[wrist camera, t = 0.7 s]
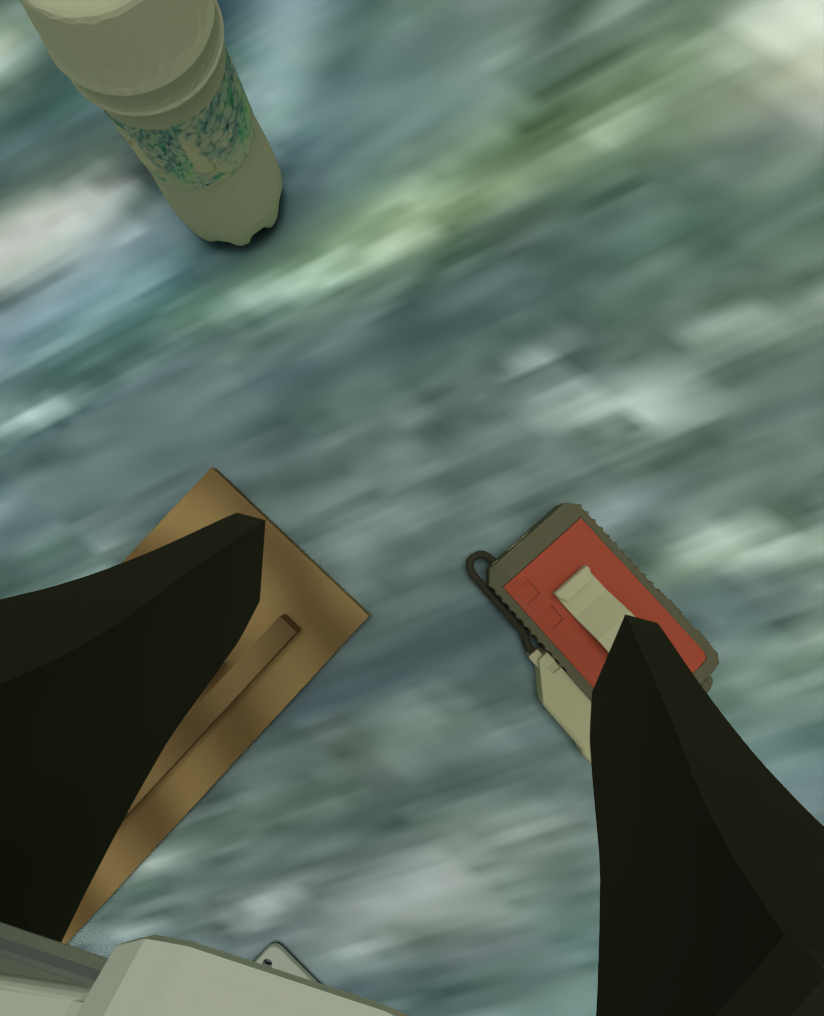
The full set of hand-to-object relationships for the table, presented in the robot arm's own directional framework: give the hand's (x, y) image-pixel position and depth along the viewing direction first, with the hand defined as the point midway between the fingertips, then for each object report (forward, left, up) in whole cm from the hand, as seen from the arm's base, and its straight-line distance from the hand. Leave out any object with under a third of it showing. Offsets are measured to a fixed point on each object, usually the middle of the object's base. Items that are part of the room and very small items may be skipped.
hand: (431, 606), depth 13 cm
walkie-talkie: (+3, -11, -24) cm, 27 cm away
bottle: (+8, +23, -24) cm, 34 cm away
